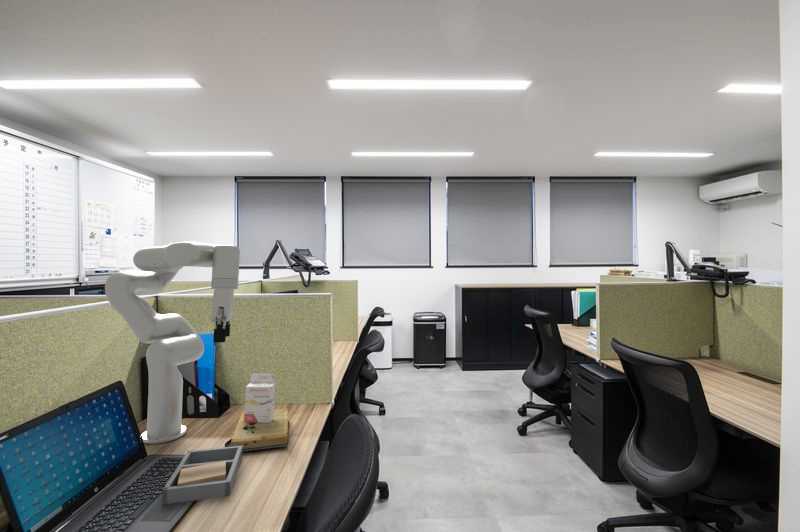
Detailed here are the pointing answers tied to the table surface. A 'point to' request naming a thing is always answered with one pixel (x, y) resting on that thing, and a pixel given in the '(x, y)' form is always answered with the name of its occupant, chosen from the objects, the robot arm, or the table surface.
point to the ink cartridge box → (260, 399)
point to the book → (262, 432)
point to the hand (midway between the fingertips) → (221, 339)
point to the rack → (209, 489)
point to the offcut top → (203, 474)
